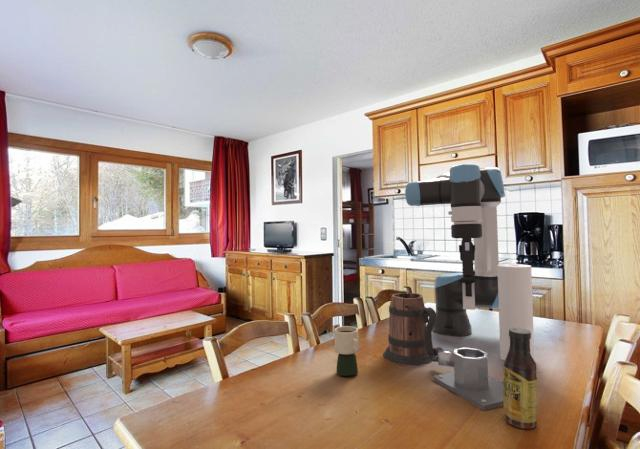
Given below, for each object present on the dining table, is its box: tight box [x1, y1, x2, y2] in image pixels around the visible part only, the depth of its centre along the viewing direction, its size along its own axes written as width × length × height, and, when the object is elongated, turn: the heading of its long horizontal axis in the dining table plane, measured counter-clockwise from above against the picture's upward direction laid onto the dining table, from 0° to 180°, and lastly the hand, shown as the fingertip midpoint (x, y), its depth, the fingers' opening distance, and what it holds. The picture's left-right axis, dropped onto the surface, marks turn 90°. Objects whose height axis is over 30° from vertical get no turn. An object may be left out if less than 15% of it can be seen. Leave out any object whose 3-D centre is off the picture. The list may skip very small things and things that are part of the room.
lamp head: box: [437, 347, 489, 391], centre depth 92 cm, size 12×8×8 cm, turn 66°
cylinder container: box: [497, 263, 535, 361], centre depth 111 cm, size 9×9×30 cm
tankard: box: [382, 292, 444, 367], centre depth 113 cm, size 24×17×20 cm
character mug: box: [333, 325, 360, 377], centre depth 102 cm, size 11×7×13 cm, turn 30°
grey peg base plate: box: [432, 371, 504, 411], centre depth 91 cm, size 18×14×6 cm
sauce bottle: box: [502, 328, 538, 430], centre depth 74 cm, size 6×6×20 cm
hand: (468, 303), depth 92 cm, fingers open, 13 cm apart
